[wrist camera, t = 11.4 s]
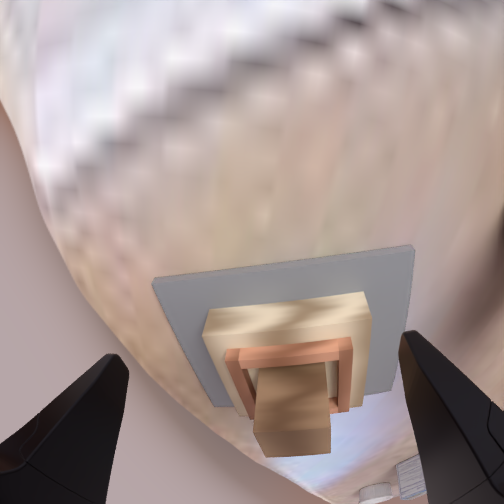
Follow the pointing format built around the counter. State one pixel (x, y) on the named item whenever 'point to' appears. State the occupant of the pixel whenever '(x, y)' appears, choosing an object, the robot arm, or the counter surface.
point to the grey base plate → (290, 289)
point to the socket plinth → (292, 345)
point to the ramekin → (375, 493)
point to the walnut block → (293, 411)
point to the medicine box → (411, 478)
